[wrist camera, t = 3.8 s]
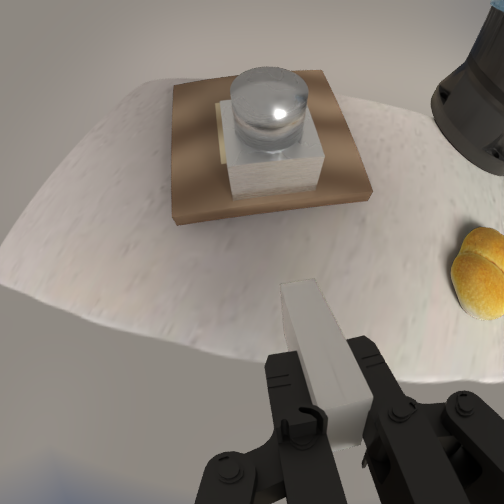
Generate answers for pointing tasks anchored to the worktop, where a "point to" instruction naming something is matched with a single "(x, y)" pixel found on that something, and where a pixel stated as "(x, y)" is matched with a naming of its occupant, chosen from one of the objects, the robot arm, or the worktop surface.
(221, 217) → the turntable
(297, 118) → the metal block with knob
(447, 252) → the worktop surface
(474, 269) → the bread roll
